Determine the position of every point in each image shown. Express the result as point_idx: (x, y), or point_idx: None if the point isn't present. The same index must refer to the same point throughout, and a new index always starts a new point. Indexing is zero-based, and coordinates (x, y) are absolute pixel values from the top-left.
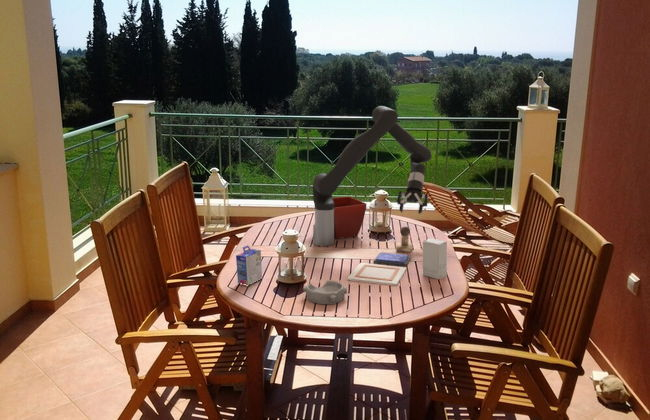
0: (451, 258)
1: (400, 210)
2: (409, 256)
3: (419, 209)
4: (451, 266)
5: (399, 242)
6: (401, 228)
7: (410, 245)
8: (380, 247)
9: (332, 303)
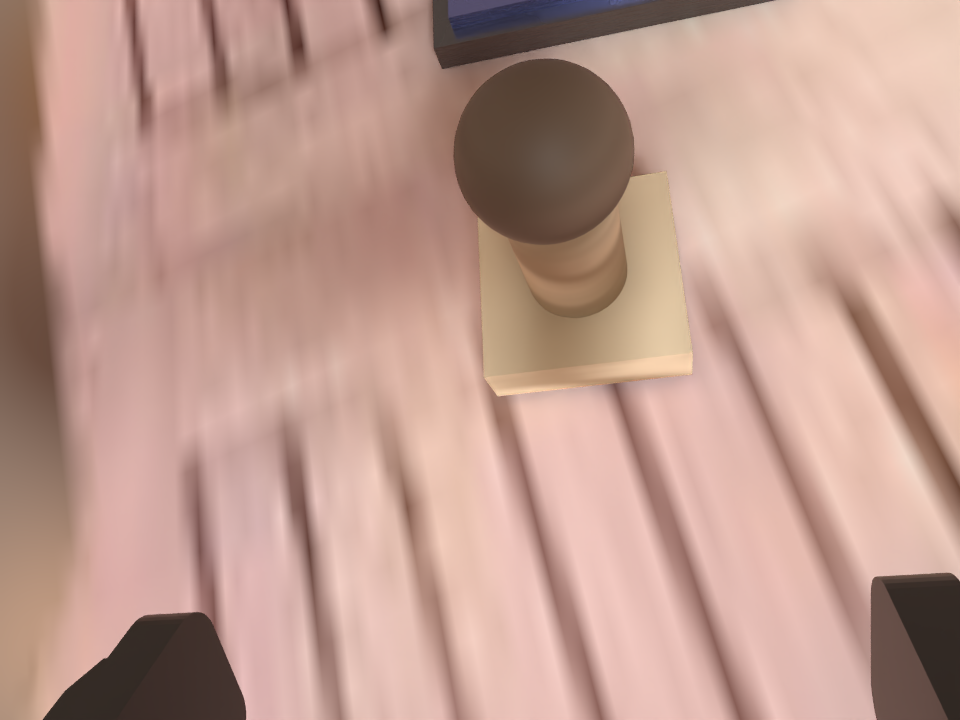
0: (69, 258)
1: (939, 578)
2: (443, 31)
3: (122, 668)
4: (79, 66)
5: (686, 348)
6: (601, 85)
7: (496, 284)
8: (947, 269)
9: None
